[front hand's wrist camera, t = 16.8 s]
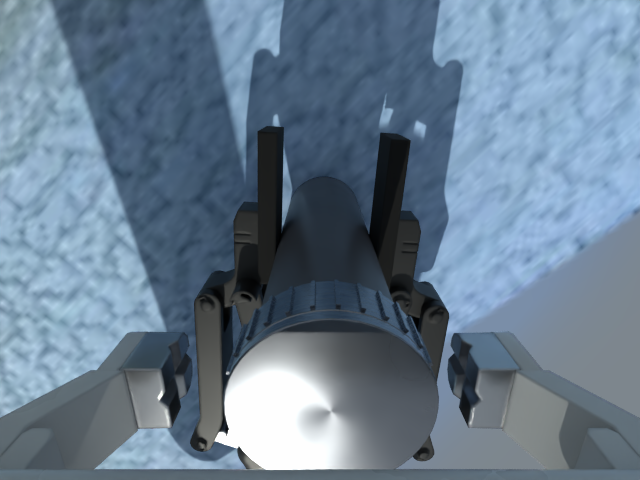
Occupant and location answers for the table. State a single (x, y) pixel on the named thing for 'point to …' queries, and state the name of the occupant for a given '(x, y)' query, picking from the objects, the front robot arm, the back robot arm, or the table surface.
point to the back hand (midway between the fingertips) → (333, 133)
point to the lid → (330, 381)
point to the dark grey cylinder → (325, 241)
